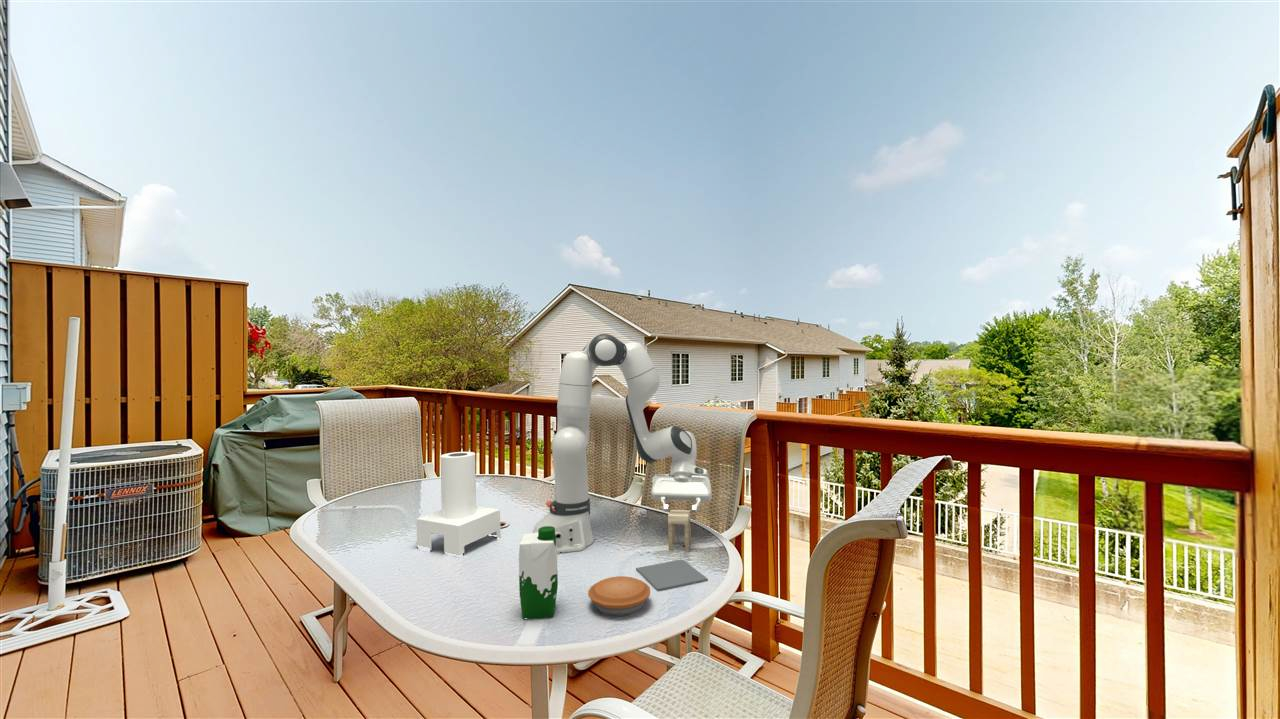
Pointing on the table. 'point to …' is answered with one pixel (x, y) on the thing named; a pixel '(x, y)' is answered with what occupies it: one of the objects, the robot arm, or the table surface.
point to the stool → (679, 518)
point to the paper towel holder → (458, 508)
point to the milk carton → (538, 573)
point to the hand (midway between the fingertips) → (680, 511)
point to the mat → (671, 575)
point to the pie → (619, 595)
